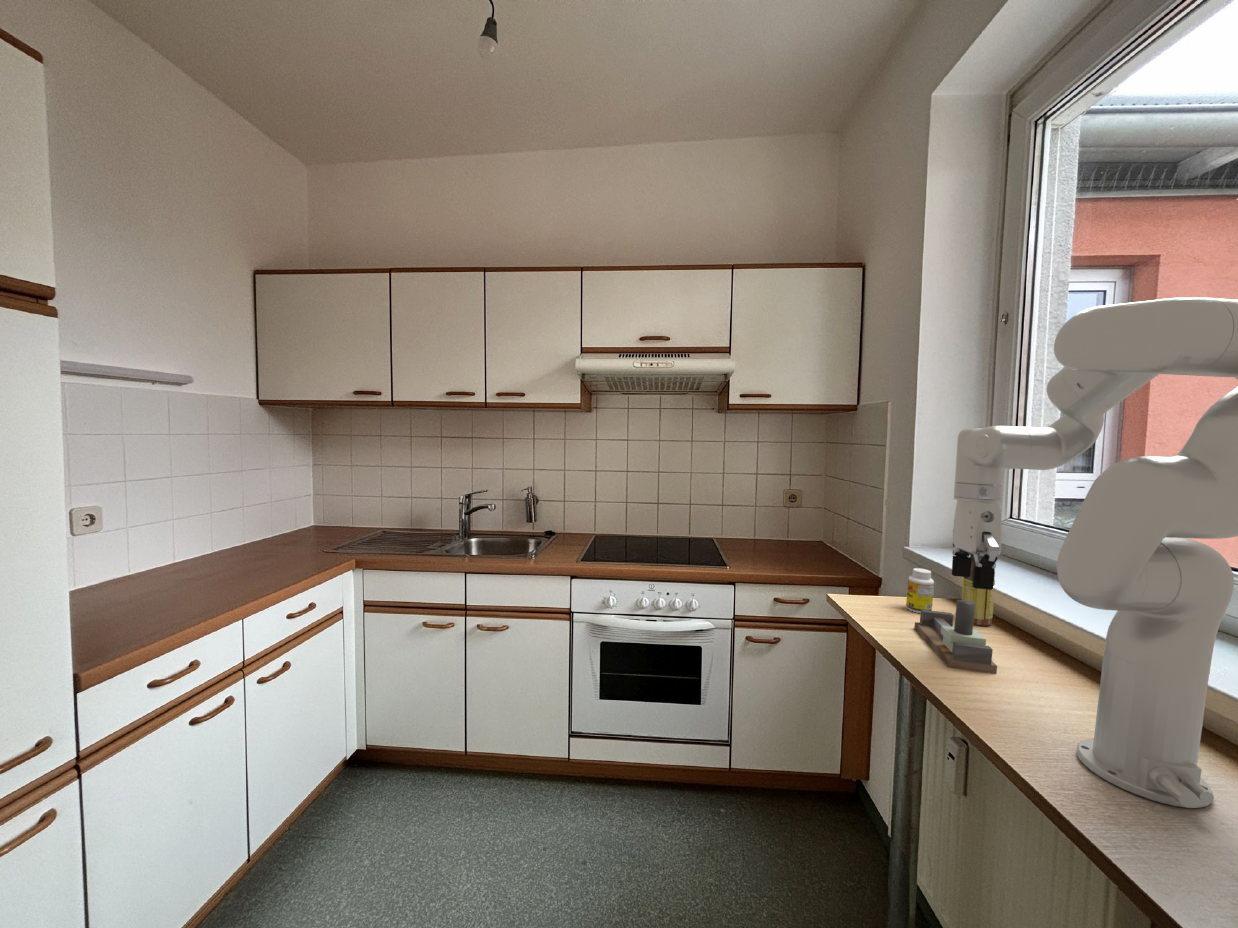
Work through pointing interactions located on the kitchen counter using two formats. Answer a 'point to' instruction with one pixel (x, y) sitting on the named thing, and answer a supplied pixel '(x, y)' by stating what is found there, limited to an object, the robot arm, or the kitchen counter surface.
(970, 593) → the sauce bottle
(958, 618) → the carriage
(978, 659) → the rail base
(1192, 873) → the kitchen counter surface
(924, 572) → the supplement bottle
